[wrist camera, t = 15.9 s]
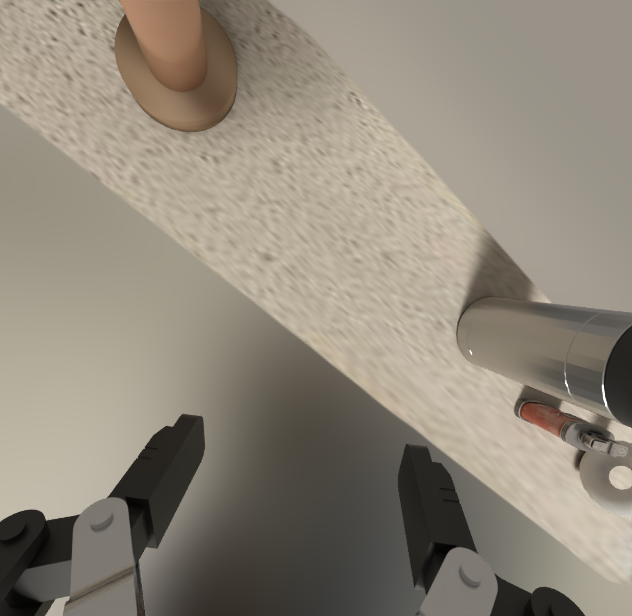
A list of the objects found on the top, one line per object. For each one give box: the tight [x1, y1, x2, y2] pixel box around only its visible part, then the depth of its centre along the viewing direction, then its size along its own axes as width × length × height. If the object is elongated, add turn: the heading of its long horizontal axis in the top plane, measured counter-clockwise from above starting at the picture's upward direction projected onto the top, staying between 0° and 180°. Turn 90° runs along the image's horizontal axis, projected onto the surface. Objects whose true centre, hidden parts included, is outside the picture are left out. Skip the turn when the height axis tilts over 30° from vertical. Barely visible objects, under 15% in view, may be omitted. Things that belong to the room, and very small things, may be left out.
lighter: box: [514, 399, 628, 457], centre depth 42 cm, size 8×3×10 cm, turn 72°
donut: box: [579, 441, 632, 519], centre depth 45 cm, size 10×3×10 cm, turn 150°
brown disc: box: [115, 7, 237, 132], centre depth 30 cm, size 10×10×2 cm
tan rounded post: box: [120, 0, 207, 92], centre depth 23 cm, size 5×5×11 cm
